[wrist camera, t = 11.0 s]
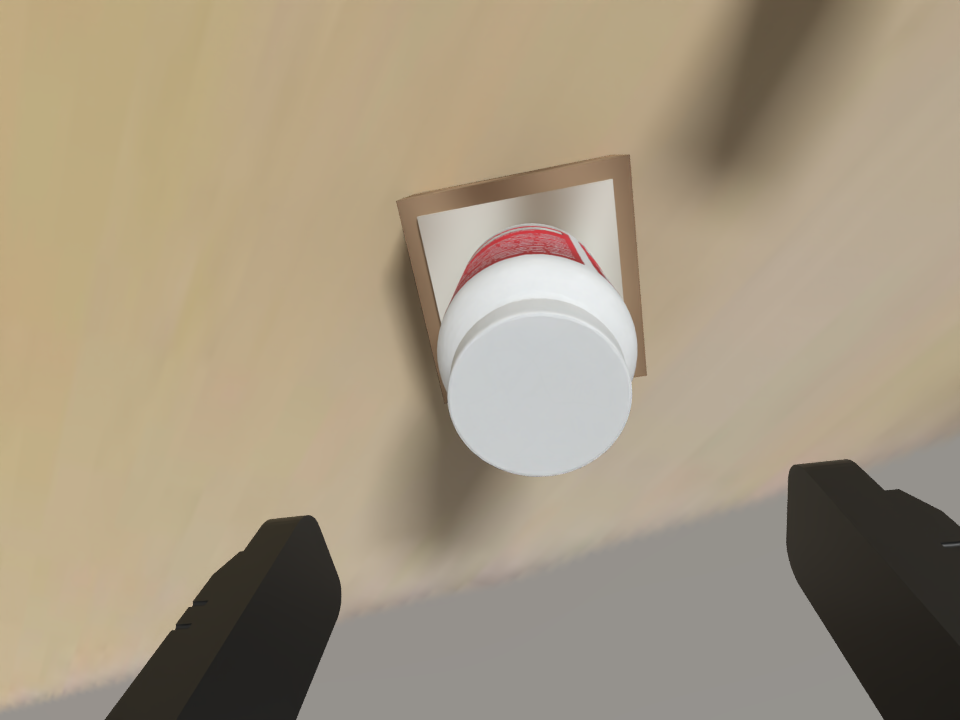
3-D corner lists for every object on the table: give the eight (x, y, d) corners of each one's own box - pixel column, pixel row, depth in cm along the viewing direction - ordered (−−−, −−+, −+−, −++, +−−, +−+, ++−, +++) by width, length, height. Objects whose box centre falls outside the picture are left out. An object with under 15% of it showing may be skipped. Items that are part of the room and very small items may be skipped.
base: (613, 154, 24) (630, 154, 20) (630, 346, 28) (647, 377, 24) (413, 194, 26) (394, 201, 22) (454, 372, 29) (444, 405, 25)
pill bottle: (437, 306, 24) (372, 423, 13) (514, 192, 21) (507, 225, 11) (544, 378, 24) (562, 538, 14) (629, 275, 22) (720, 377, 12)
